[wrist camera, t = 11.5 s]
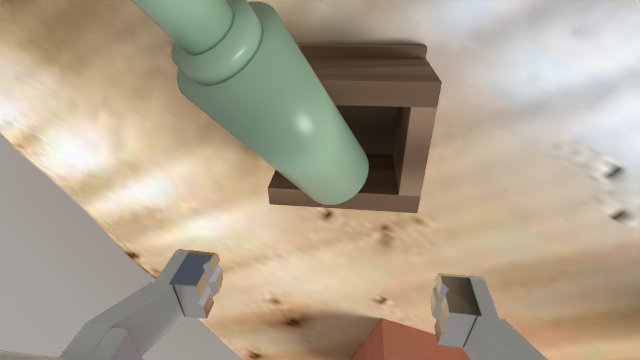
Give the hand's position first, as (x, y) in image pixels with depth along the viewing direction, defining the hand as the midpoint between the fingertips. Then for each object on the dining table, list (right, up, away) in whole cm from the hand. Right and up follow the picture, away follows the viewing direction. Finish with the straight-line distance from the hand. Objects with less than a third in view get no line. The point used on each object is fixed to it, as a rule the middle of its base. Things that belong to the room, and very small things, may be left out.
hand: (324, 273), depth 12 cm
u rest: (+2, +9, +15) cm, 18 cm away
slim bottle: (+1, +4, +11) cm, 12 cm away
